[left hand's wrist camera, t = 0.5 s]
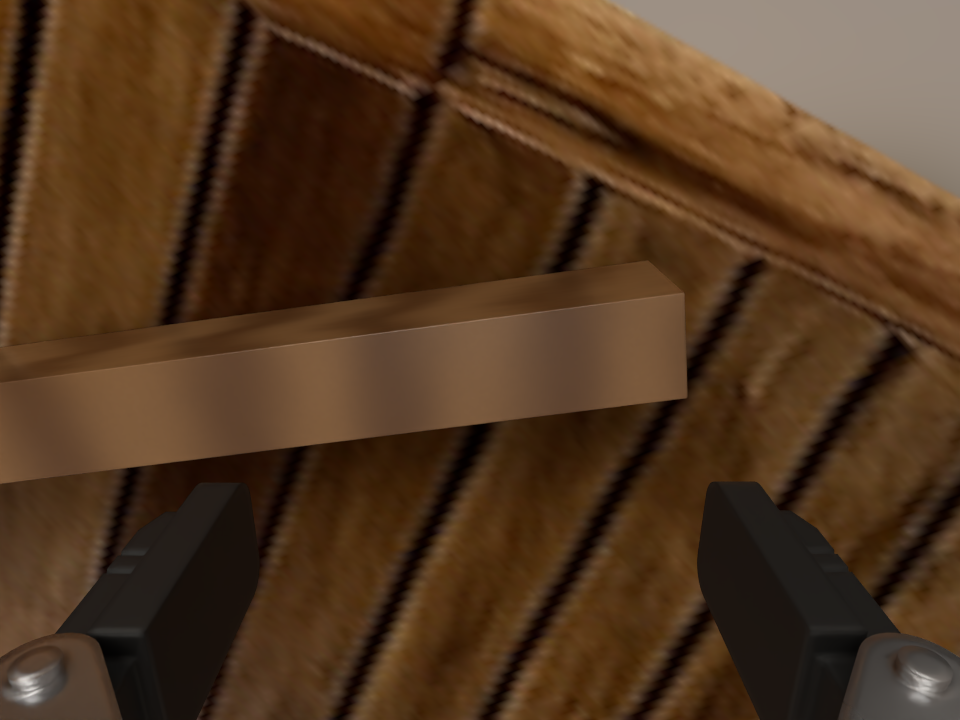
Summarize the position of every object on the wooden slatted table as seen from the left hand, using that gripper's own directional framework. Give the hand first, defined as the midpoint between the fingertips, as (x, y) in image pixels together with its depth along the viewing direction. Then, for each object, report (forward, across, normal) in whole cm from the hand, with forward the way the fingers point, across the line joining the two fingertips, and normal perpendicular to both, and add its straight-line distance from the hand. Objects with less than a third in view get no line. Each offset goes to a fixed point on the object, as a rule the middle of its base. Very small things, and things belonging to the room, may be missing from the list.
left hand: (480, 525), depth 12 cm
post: (+22, -18, -6) cm, 29 cm away
